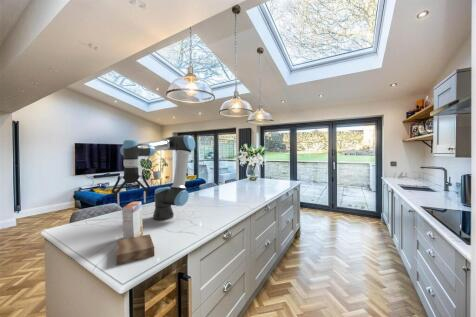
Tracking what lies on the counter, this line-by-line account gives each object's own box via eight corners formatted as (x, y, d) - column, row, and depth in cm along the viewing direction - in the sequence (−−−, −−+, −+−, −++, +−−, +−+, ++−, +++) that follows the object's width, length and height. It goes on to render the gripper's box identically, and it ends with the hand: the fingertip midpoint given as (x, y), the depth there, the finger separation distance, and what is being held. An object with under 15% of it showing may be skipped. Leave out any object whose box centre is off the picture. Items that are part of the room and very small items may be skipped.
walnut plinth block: (149, 243, 118) (149, 234, 117) (154, 256, 102) (154, 246, 102) (117, 249, 110) (116, 240, 110) (116, 266, 94) (116, 255, 94)
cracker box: (133, 234, 128) (131, 201, 127) (143, 234, 129) (142, 200, 128) (122, 245, 114) (121, 207, 114) (134, 244, 115) (133, 206, 114)
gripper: (104, 168, 111) (106, 208, 111) (155, 166, 123) (155, 202, 123) (106, 167, 117) (107, 205, 118) (153, 165, 129) (154, 199, 130)
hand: (132, 203), depth 121 cm, fingers open, 13 cm apart
